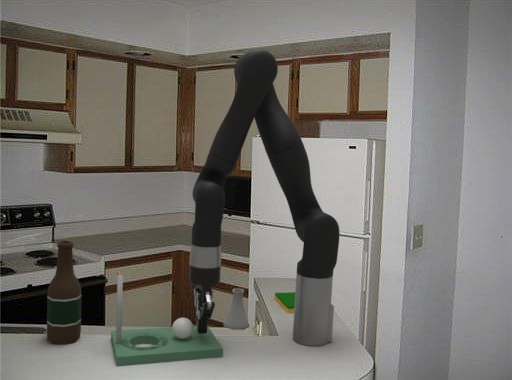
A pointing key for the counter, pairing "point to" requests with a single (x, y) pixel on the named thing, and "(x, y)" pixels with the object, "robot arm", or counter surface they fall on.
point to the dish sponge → (286, 301)
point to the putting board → (158, 342)
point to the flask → (236, 312)
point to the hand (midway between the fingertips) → (201, 332)
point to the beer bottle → (64, 300)
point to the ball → (182, 328)
